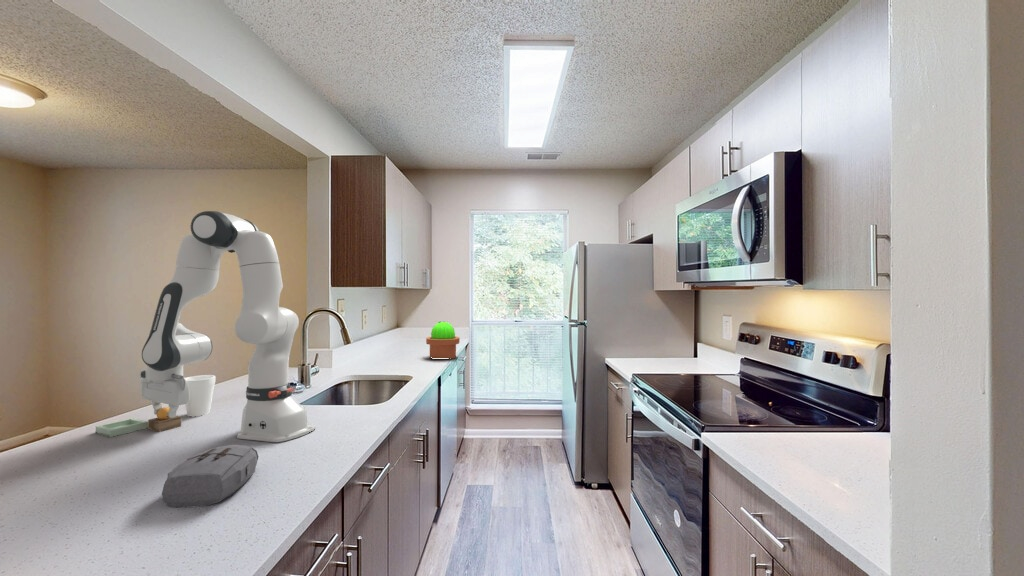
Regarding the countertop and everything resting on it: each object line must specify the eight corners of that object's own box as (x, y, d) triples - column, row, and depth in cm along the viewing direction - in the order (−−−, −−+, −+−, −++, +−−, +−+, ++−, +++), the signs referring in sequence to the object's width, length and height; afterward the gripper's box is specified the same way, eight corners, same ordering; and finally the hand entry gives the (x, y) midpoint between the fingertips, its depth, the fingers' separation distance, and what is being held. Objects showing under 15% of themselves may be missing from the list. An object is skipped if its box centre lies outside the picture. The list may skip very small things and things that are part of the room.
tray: (147, 427, 128) (147, 421, 128) (110, 437, 120) (110, 430, 120) (132, 424, 131) (132, 417, 131) (95, 432, 123) (95, 426, 123)
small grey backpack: (230, 506, 83) (270, 465, 102) (231, 466, 83) (271, 432, 102) (147, 513, 80) (204, 469, 99) (147, 471, 80) (205, 435, 100)
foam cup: (176, 415, 141) (177, 378, 141) (206, 408, 149) (207, 374, 149) (190, 419, 136) (190, 381, 136) (220, 412, 145) (220, 376, 145)
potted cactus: (457, 360, 257) (457, 322, 257) (423, 360, 256) (423, 321, 256) (460, 355, 278) (461, 319, 279) (429, 355, 278) (429, 319, 278)
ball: (175, 418, 129) (176, 406, 129) (160, 422, 126) (161, 409, 126) (168, 417, 131) (168, 405, 131) (153, 420, 127) (154, 408, 127)
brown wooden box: (181, 426, 130) (181, 416, 130) (158, 431, 124) (158, 422, 124) (170, 423, 132) (170, 414, 132) (148, 429, 127) (148, 419, 127)
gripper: (196, 374, 127) (195, 417, 127) (160, 368, 135) (159, 409, 135) (172, 377, 121) (171, 423, 121) (136, 371, 130) (135, 414, 129)
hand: (165, 415), depth 128 cm, fingers open, 6 cm apart
